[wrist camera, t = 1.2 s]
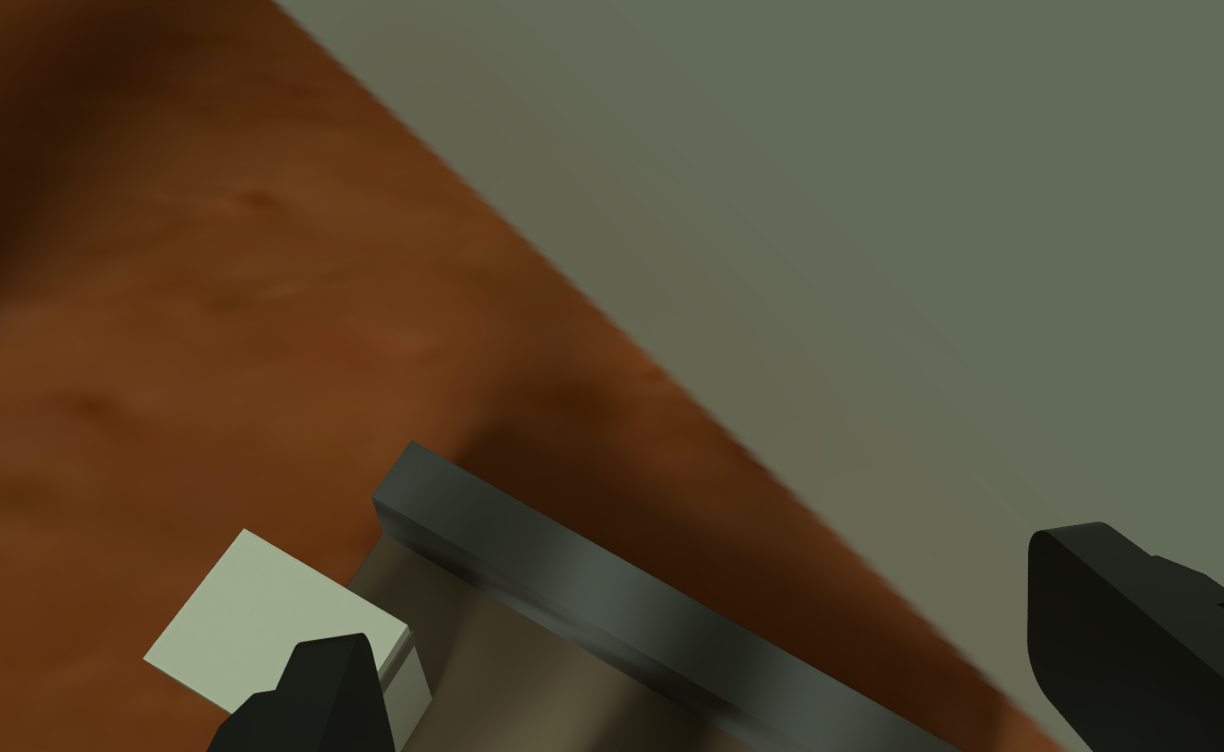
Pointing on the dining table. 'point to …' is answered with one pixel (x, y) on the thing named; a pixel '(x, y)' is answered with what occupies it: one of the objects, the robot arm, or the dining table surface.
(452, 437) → the dining table surface
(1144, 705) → the robot arm
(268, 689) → the white tall block
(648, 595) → the dark grey block stand
